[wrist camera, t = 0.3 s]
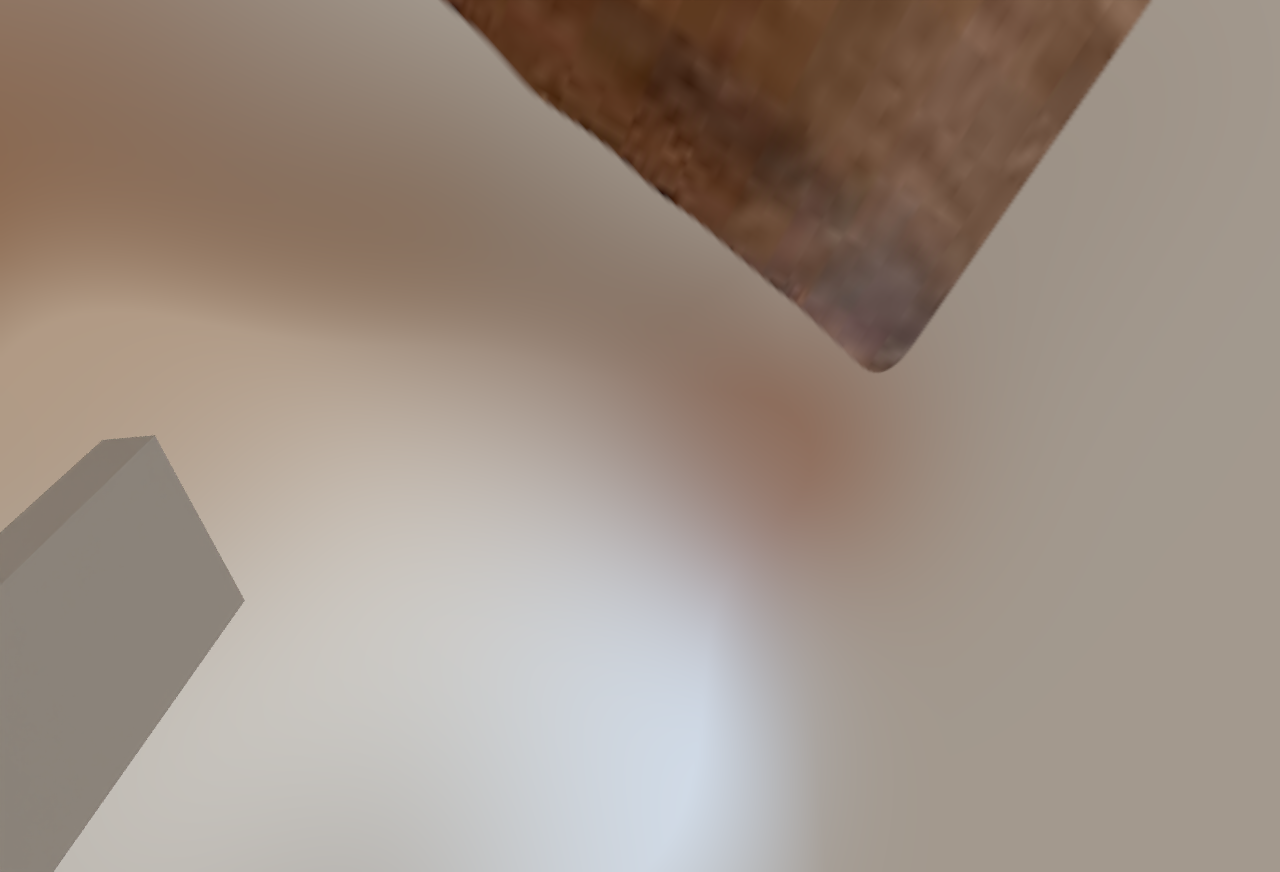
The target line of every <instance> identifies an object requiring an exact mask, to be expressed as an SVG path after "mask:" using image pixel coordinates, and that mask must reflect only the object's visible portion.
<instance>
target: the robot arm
mask: <svg viewBox="0 0 1280 872" xmlns="http://www.w3.org/2000/svg"><path fill="white" fill-rule="evenodd" d="M243 602H244V598H243V597H242V595H241V593H240V591H239V589H238V587H237V586H236V584H235V582H234V580H233V578H232V576H231V575H230V573H229V571H228V569H227V567H226V565H225V564H224V562H223V560H222V558H221V556H220V554H219V553H218V551H217V549H216V547H215V545H214V543H213V541H212V540H211V538H210V536H209V534H208V532H207V531H206V529H205V527H204V525H203V523H202V521H201V519H200V518H199V516H198V514H197V512H196V510H195V508H194V507H193V505H192V503H191V501H190V499H189V497H188V496H187V494H186V492H185V490H184V488H183V486H182V485H181V483H180V481H179V479H178V477H177V475H176V473H175V472H174V470H173V468H172V466H171V465H170V463H169V461H168V459H167V457H166V455H165V453H164V451H163V450H162V448H161V446H160V444H159V442H158V441H157V439H156V437H155V435H154V436H143V437H132V438H120V439H109V440H102V441H101V442H100V443H99V444H98V445H97V446H95V447H94V448H93V449H92V450H91V451H90V452H89V453H88V454H87V455H86V456H84V457H83V458H82V459H81V460H80V461H79V462H78V463H77V464H76V465H74V466H73V467H72V468H71V469H70V470H69V471H68V472H67V473H66V474H65V475H64V476H62V477H61V478H60V479H59V480H58V481H57V482H56V483H55V484H54V485H52V486H51V487H50V488H49V489H48V490H47V491H46V492H45V493H44V494H42V495H41V496H40V497H39V498H38V499H37V500H36V501H35V502H34V503H33V504H31V505H30V506H29V507H28V508H27V509H26V510H25V511H24V512H23V513H21V514H20V515H19V516H18V517H17V518H16V519H15V520H14V521H13V522H12V523H10V524H9V525H8V526H7V527H6V528H5V529H4V530H3V531H2V532H0V872H54V870H55V869H56V867H57V866H58V864H59V863H60V862H61V860H62V859H63V857H64V856H65V855H66V853H67V852H68V850H69V849H70V847H71V846H72V845H73V843H74V842H75V840H76V839H77V838H78V836H79V835H80V833H81V832H82V830H83V829H84V828H85V826H86V825H87V823H88V822H89V820H90V819H91V818H92V816H93V815H94V813H95V812H96V811H97V809H98V808H99V806H100V805H101V803H102V802H103V801H104V799H105V798H106V796H107V795H108V794H109V792H110V791H111V789H112V788H113V786H114V785H115V783H116V782H117V781H118V779H119V778H120V777H121V775H122V774H123V772H124V771H125V769H126V768H127V766H128V765H129V764H130V762H131V761H132V759H133V758H134V757H135V755H136V754H137V752H138V751H139V750H140V748H141V747H142V745H143V744H144V742H145V741H146V740H147V738H148V737H149V735H150V734H151V733H152V731H153V730H154V728H155V727H156V725H157V724H158V723H159V721H160V720H161V718H162V717H163V716H164V714H165V713H166V711H167V710H168V708H169V707H170V706H171V704H172V703H173V701H174V700H175V699H176V697H177V696H178V694H179V693H180V691H181V690H182V689H183V687H184V686H185V684H186V683H187V681H188V680H189V679H190V677H191V676H192V674H193V673H194V671H195V670H196V669H197V667H198V666H199V664H200V663H201V662H202V660H203V659H204V657H205V656H206V655H207V653H208V652H209V650H210V649H211V647H212V646H213V645H214V643H215V642H216V640H217V639H218V638H219V636H220V635H221V633H222V632H223V630H224V629H225V628H226V626H227V625H228V623H229V622H230V621H231V619H232V618H233V616H234V615H235V613H236V612H237V611H238V609H239V608H240V606H241V605H242V603H243Z"/></svg>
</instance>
